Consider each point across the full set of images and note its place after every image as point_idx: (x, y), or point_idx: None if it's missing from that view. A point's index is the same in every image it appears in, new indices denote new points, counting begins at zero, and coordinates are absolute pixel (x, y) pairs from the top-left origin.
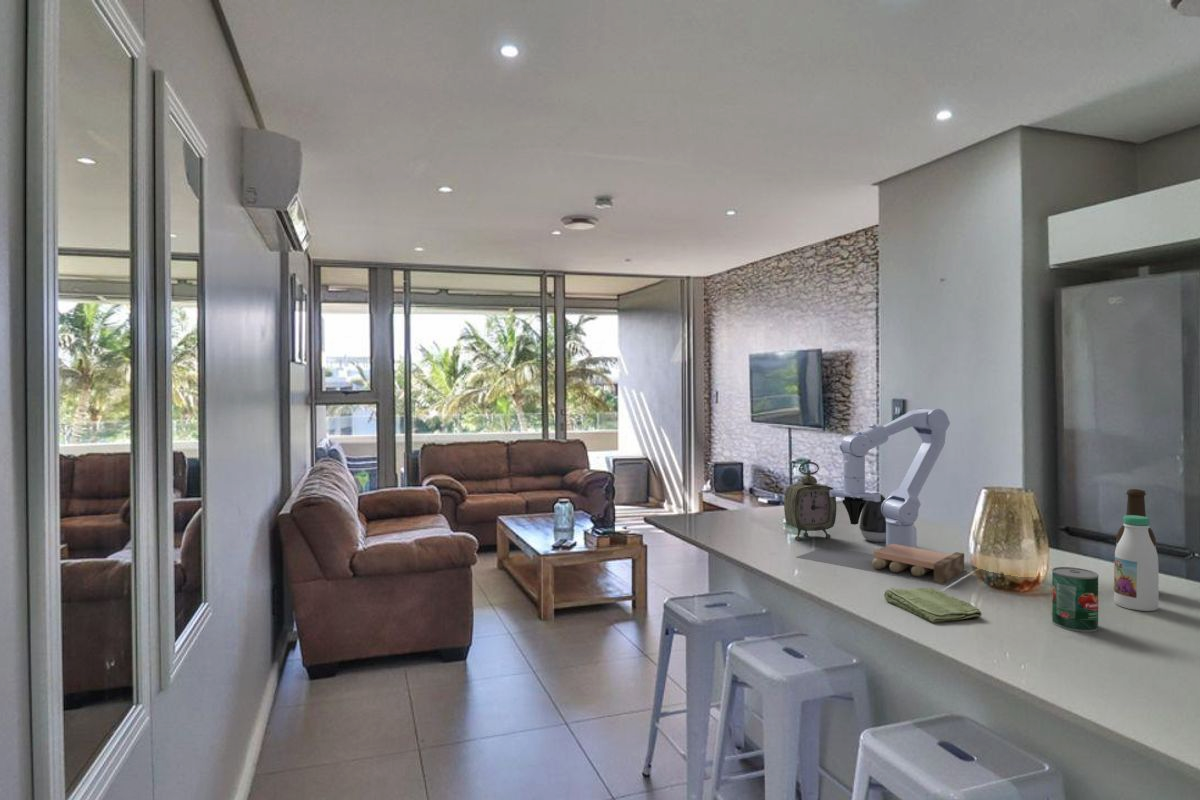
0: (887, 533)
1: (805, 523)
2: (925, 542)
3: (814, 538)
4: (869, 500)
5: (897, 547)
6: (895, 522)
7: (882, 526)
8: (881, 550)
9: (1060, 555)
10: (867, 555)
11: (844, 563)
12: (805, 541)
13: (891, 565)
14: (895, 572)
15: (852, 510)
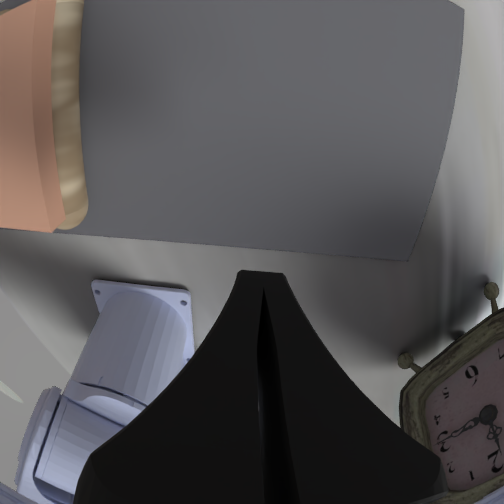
0: (150, 361)
1: (493, 345)
2: None
3: (439, 340)
4: (21, 497)
5: (7, 177)
6: (89, 395)
7: None
8: (17, 46)
9: (10, 392)
10: (202, 209)
11: None
12: (466, 297)
13: (4, 10)
14: None
15: (256, 380)
